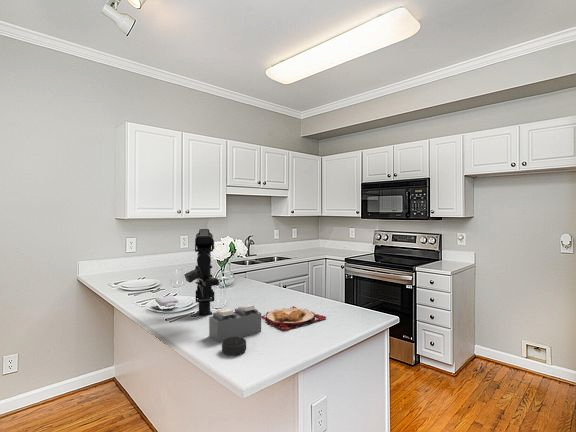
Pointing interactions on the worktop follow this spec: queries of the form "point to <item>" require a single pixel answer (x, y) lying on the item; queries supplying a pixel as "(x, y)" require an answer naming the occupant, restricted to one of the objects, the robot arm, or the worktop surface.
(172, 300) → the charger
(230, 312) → the rocker
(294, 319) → the plate with food
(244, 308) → the block
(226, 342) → the smart speaker
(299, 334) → the worktop surface
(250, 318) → the switch box
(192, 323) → the worktop surface
